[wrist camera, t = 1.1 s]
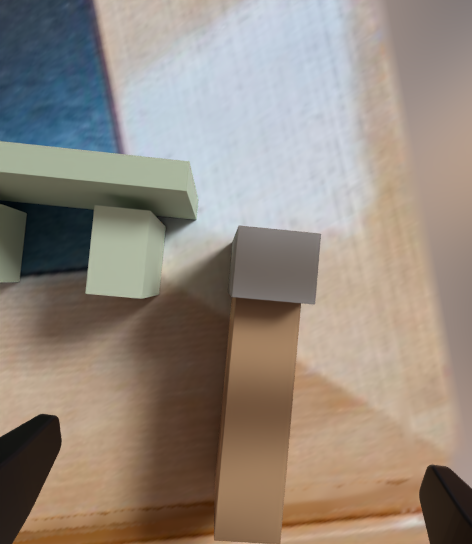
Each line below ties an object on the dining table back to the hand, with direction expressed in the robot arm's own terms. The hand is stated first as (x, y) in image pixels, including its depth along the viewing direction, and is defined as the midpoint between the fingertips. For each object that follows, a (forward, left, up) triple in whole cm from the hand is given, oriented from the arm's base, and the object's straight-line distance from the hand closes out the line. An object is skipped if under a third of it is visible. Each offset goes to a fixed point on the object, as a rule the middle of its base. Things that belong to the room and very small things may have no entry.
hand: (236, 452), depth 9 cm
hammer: (-1, -2, -13) cm, 13 cm away
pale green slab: (+5, +9, -13) cm, 17 cm away
